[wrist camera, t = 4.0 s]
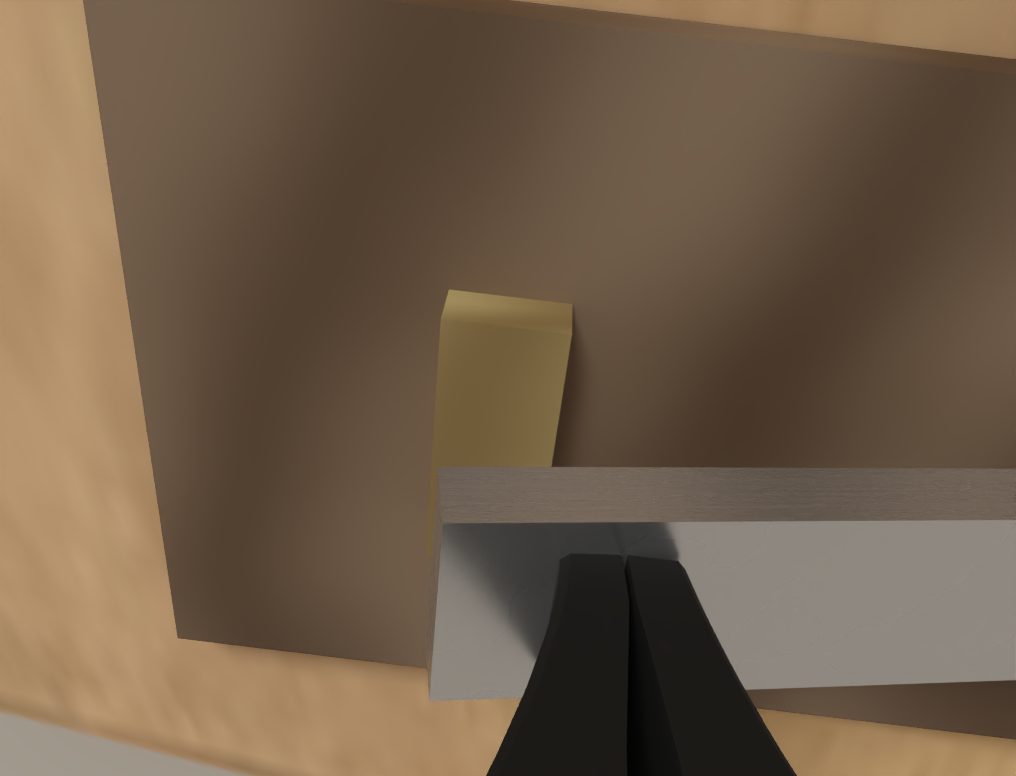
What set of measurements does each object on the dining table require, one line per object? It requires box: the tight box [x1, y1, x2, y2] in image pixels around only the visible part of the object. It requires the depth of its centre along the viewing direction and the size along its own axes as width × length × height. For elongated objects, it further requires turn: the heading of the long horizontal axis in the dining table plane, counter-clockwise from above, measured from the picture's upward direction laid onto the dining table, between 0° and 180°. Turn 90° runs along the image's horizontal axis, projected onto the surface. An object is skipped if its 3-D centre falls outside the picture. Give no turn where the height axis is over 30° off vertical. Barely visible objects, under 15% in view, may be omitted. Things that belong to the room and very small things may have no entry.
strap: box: [426, 467, 1016, 701], centre depth 12 cm, size 12×3×1 cm, turn 84°
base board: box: [83, 0, 1016, 739], centre depth 14 cm, size 20×12×4 cm, turn 84°
